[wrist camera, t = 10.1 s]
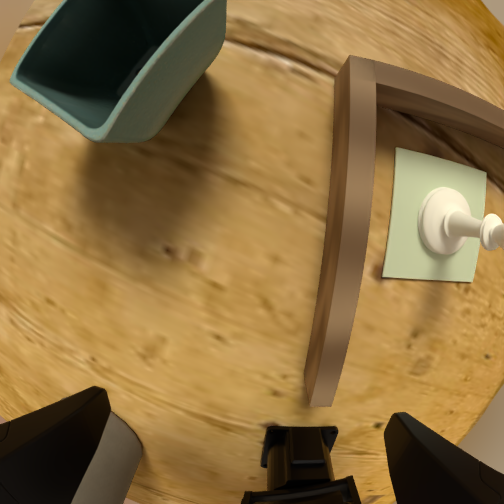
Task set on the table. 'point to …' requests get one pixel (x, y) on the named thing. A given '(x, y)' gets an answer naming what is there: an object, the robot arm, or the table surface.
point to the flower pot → (120, 63)
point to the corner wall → (370, 192)
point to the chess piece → (455, 223)
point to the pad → (407, 210)
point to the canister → (111, 466)
